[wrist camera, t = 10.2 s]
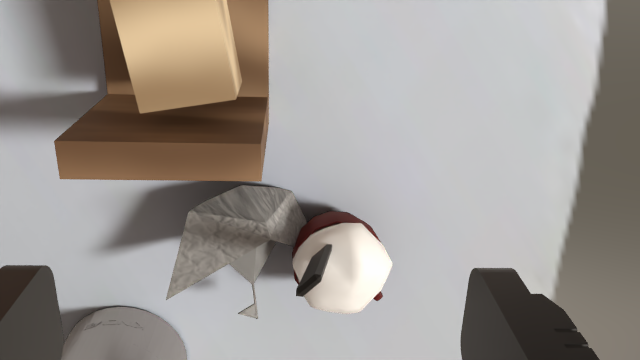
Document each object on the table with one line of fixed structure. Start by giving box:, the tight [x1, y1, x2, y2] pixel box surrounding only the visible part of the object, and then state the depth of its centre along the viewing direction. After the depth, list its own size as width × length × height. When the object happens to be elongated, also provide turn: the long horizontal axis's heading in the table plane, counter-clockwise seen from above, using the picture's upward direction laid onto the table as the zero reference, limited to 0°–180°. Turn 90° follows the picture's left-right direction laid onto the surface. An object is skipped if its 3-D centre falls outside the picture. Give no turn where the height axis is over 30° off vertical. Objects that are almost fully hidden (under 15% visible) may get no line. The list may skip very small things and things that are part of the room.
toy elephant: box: [166, 185, 307, 319], centre depth 40 cm, size 12×6×9 cm
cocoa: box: [292, 211, 393, 314], centre depth 37 cm, size 10×6×12 cm, turn 19°
